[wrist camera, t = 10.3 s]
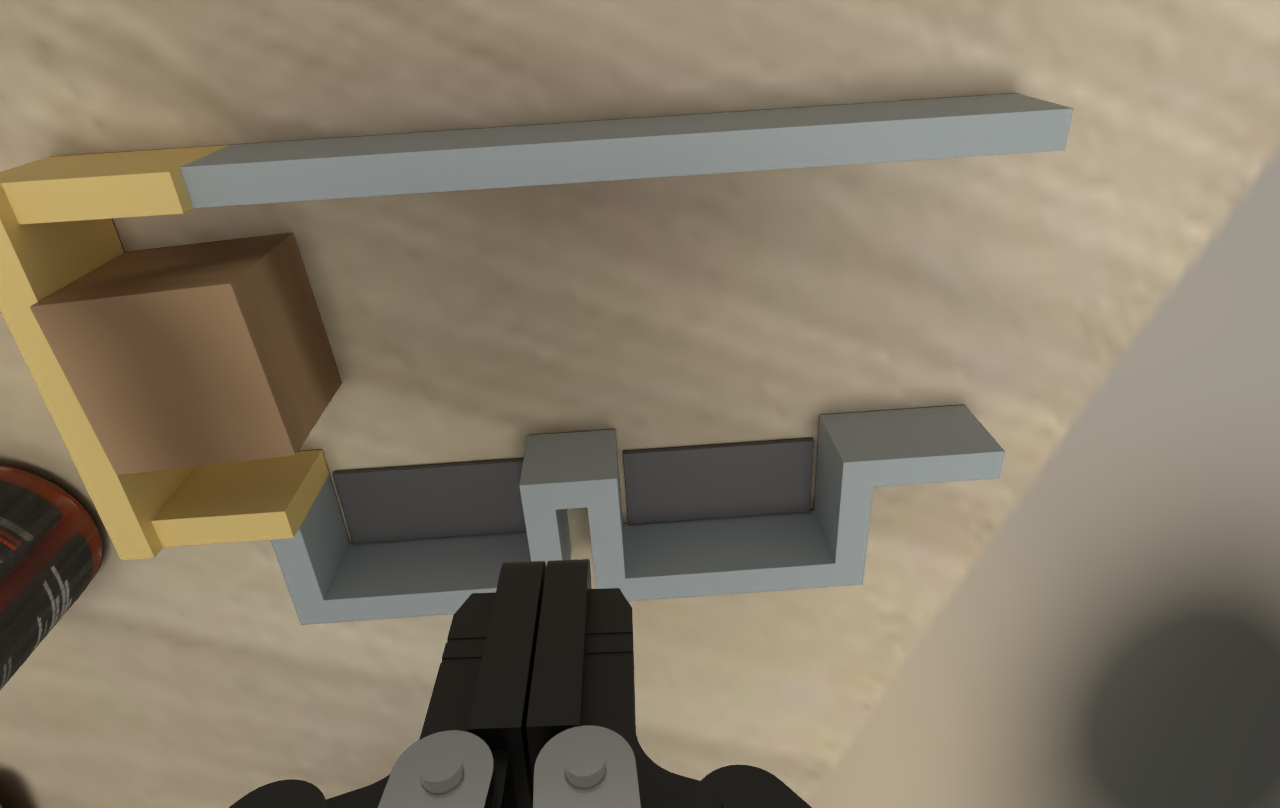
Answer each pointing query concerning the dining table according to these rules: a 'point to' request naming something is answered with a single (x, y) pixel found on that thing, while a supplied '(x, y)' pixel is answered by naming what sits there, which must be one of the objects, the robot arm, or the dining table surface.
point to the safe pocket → (12, 282)
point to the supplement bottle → (39, 561)
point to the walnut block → (195, 353)
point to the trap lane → (588, 461)
